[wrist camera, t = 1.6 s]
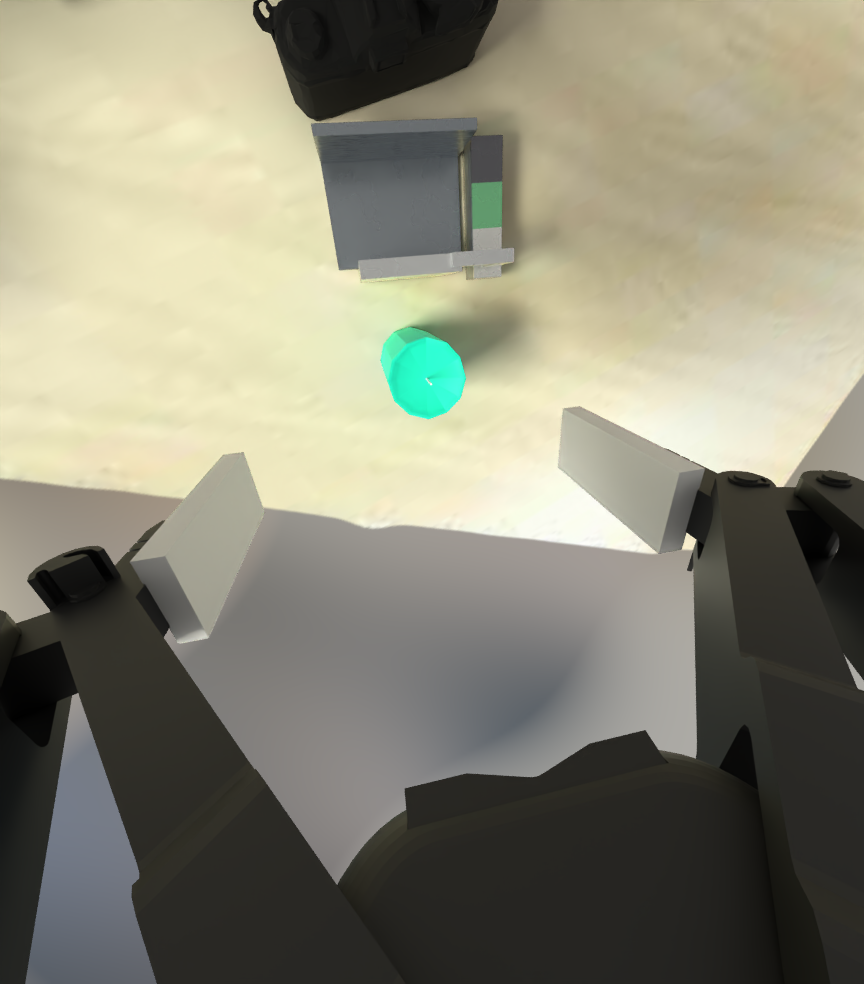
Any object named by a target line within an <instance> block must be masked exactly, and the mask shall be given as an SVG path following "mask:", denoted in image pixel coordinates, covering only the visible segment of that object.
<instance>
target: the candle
mask: <svg viewBox="0 0 864 984" xmlns="http://www.w3.org/2000/svg"><path fill="white" fill-rule="evenodd" d="M381 363H382V367H383V370H384V373H385V376H386V378H387V381H388V384H389V387H390V390H391V393H392V396H393V399H394V401H395V402H396V403H397V404H398V405H399V406H400V407H402V408H403V409H404V410H405V411H406V412H407V413H408V414H409V415H413V416H417V417H422V418H426V419H431V418H433V417H436V416H439V415H441V414H444V413H447V412H448V411H449V410H450V409H451V408H452V407H453V406H454V405H455V404H456V402H457V401H458V400H459V399H460V398H461V395H462V391H463V387H464V384H465V380H466V376H465V373H464V369H463V365H462V362H461V358H460V356H459V355H458V354H457V353H456V352H455V351H454V350H453V349H452V347H451V346H450V345H449V344H448V343H447V342H445V341H443V340H441V339H439V338H437V337H435V336H434V335H432V334H430V333H428V332H426V331H423V330H419V329H416V328H412V327H407V328H404V329H401V330H398V331H395V332H394V333H393V334H392V335H391V336H390V337H389V338H388V340H387V341H386V342H385V343H384V344H383V350H382V355H381Z"/></svg>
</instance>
